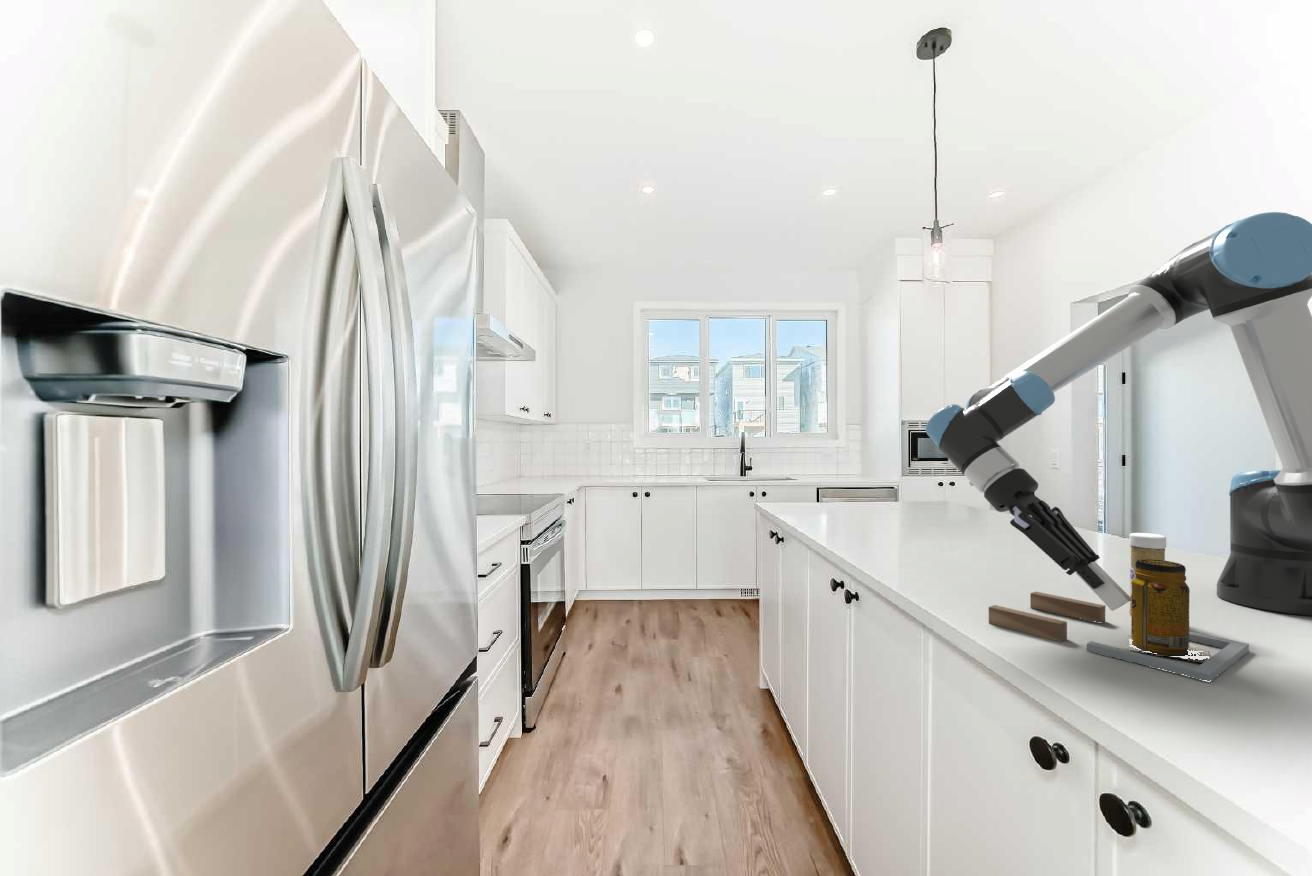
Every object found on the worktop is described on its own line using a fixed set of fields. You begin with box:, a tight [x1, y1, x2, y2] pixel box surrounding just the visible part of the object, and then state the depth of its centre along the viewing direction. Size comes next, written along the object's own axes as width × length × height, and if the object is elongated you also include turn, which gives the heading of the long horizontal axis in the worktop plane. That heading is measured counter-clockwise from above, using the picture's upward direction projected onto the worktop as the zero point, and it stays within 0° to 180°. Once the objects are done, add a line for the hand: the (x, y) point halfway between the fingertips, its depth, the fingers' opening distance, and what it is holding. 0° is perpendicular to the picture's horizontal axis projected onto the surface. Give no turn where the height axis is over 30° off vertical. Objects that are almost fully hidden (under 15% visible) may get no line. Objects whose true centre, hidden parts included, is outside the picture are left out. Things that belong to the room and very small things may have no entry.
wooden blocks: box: [988, 591, 1106, 643], centre depth 92 cm, size 16×10×2 cm, turn 124°
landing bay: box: [1086, 630, 1250, 681], centre depth 80 cm, size 18×12×1 cm
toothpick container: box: [1128, 532, 1167, 616], centre depth 94 cm, size 5×5×14 cm
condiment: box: [1127, 559, 1211, 663], centre depth 80 cm, size 7×8×12 cm
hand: (1122, 605), depth 84 cm, fingers closed
